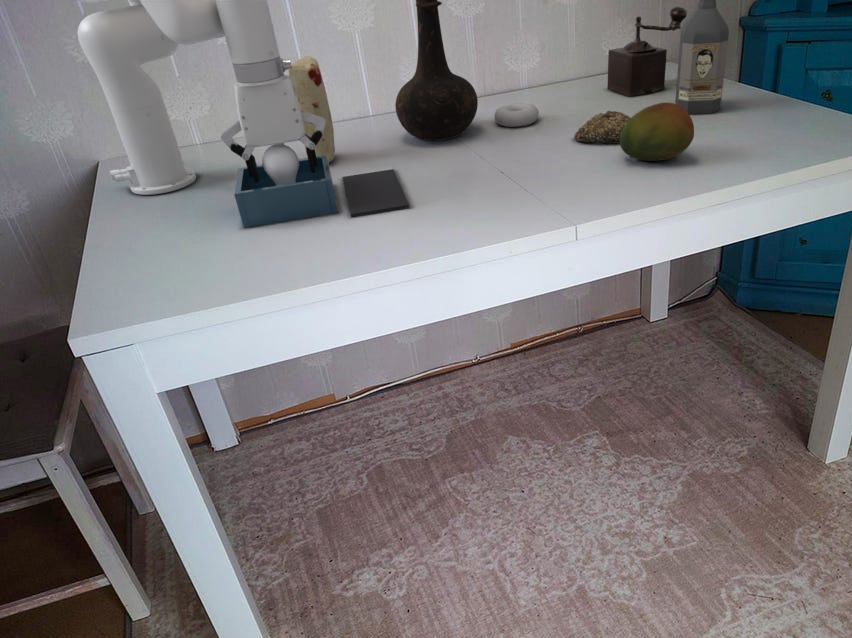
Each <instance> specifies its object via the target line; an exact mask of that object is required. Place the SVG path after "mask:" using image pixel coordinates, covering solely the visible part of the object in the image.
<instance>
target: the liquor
mask: <svg viewBox="0 0 852 638" xmlns="http://www.w3.org/2000/svg"><path fill="white" fill-rule="evenodd" d="M729 36H730V30H729V25H728V24H727V22H726V21H725V19H724V18H723V16H722V14H721V13H720V12H719V10H718V9H717V0H698V2H697V7H696V9H695V10H693V12H692V13H691V14H690V16H689V17H688V18H687V19H686V20H685V21H684V22H683V24H682V26H681V29H680V36H679V48H678V49H679V50H678V62H677V73H676V74H677V75H676V86H675V87H676V88H675V99H674V100H675V101H674V104H677V105H679V106H681V107H683V108H684V109H685V110H686V111H687V112H688V114H689V115H707V114H708V115H709V114H713V113H716V112H719V110H720V109H721V106H722V97H723V89H724V81H725V80H724V79H725V71H726V62H727V53H728V44H729Z"/></svg>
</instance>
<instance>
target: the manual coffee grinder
mask: <svg viewBox="0 0 852 638" xmlns="http://www.w3.org/2000/svg"><path fill="white" fill-rule="evenodd" d="M687 15H688V12H687V10H686V9H685V8H684V7H681V6H675V7H672V8H671V9H670V11H669V16H670V20H671V21H670V23H669V25H668V26H659V25H647V24H646V25H644V24H642V23H641V22H642V17H641V16H636V18H635V24H634V26H635V39H634V41H630V42H629V43H627V44H626V45H625V46H623V47H618V48H613V49H608V55H607V57H608V58H607V59H608V60H607V87H606V89H607V90H609V91H611V92H613V93H617V94H620V95H622V96H626V97H630V98H632V97H638V96H642V95H647V94H652V93H655V92H658V91H662V90H665V89H666V86H665V85H666V84H665V81H666V69H667V67H666V66H667V53H668V49H667V48H663V47H660V46H659V47H658V46H653V45H652V44H651V43H649V42H648V41H646V40H641V29H643V30H653V31H661V32H662V31H663V32H669V31H672V32H674V31H676V30H681V29H682V26H681V25H682V24H681V23H682V22H683V21H684V19H686V18H687Z"/></svg>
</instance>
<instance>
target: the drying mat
mask: <svg viewBox="0 0 852 638" xmlns="http://www.w3.org/2000/svg"><path fill="white" fill-rule="evenodd" d="M341 178H342V182H343V183H342V184H343V186H344V190H345V191H344V192H345V195H346V200H347V204H348V209H349V213H350V217H351V218H354V217H361V216H367V215H374V214H379V213H386V212H391V211H392V212H393V211H398V210H405V209H409V208H410V204H409V202H408V199H407V197H406V195H405V192H404V190H403V188H402V185H401V183H400V181H399V178H398V176H397V174H396V172H395V169H394V168H390V169H384V170H378V171H372V172H365V173H359V174H352V175H346V176H342V177H341Z"/></svg>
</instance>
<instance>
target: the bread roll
mask: <svg viewBox="0 0 852 638" xmlns="http://www.w3.org/2000/svg"><path fill="white" fill-rule="evenodd" d="M631 118H632V117H630V116H629V115H627V114H625V113H624V112H621V111H615V110H607V111H606V112H604V113H602V112H600V113H599V114H595V115H594V116H593V117H591V118H589V119H588V120H587V121H586V122H585V123H584V124H583V125H582V126H580V127H579V128H578V130H577V131H575V133H574V139H575V141H577V142H581V143H589V144H618V143H619V144H620V134H621V132H622V130H623V128H624V126H625V125H626V123H627V122H628V121H629V120H630V119H631Z"/></svg>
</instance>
